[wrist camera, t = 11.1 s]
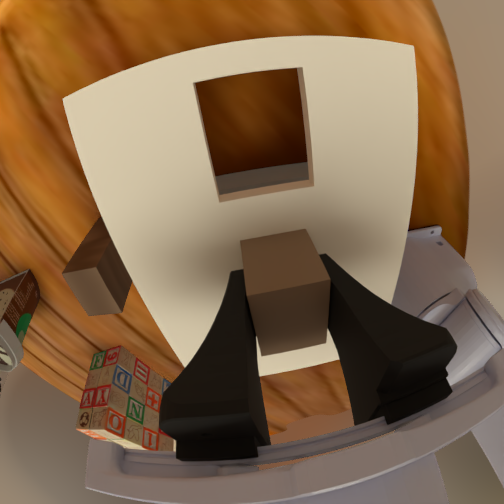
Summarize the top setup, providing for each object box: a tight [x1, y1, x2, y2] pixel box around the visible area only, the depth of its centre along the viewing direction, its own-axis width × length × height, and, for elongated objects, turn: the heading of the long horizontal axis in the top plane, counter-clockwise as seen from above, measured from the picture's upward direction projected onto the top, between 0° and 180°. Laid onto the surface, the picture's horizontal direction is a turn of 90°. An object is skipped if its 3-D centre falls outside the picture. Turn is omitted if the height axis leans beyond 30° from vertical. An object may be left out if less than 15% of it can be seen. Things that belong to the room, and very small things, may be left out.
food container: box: [0, 269, 40, 372], centre depth 21 cm, size 12×6×10 cm, turn 104°
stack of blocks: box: [76, 346, 176, 451], centre depth 32 cm, size 21×6×12 cm, turn 25°
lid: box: [63, 36, 418, 376], centre depth 12 cm, size 15×21×4 cm
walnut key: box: [62, 218, 132, 316], centre depth 19 cm, size 3×4×8 cm
